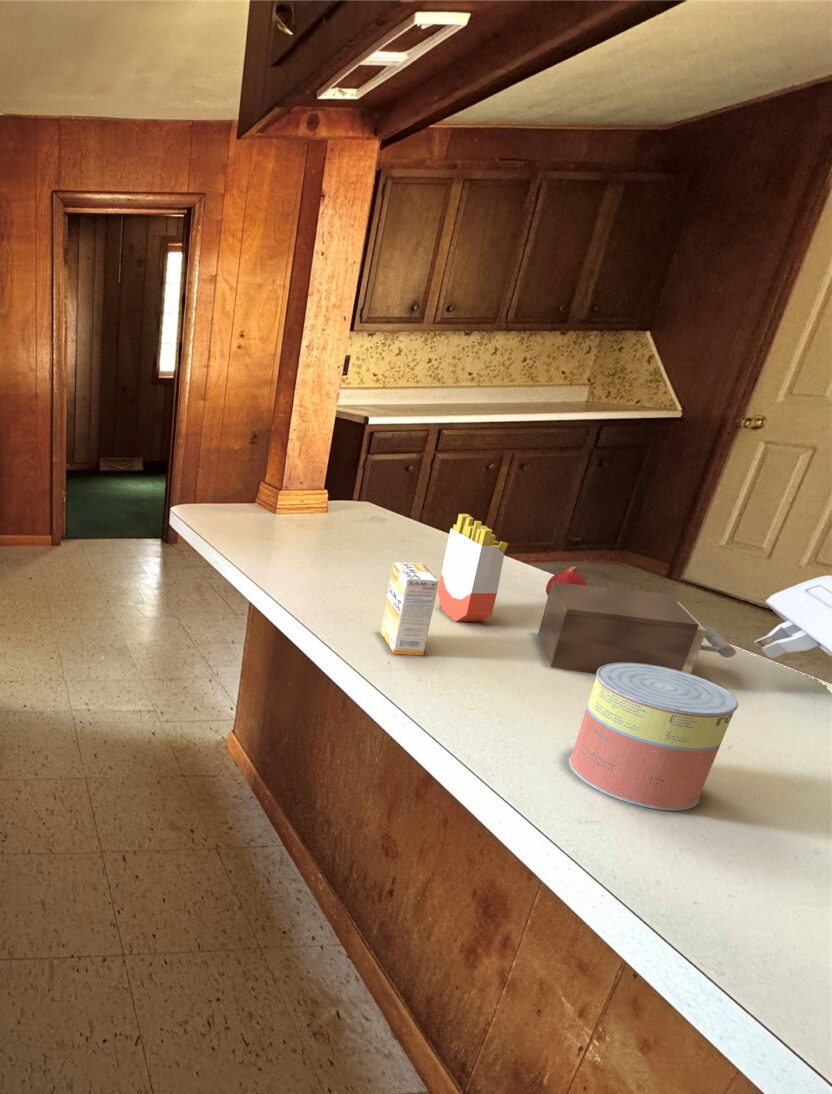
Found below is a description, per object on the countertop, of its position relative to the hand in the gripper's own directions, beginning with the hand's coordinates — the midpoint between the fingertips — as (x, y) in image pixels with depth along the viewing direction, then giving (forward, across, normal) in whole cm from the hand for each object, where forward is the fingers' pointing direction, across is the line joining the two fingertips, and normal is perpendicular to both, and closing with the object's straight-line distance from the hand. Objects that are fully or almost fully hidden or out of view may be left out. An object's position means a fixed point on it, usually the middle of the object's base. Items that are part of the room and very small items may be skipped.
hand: (761, 650), depth 93 cm
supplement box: (+35, +6, -28) cm, 45 cm away
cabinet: (+15, 0, -8) cm, 17 cm away
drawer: (+12, 0, -6) cm, 13 cm away
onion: (+16, -23, -9) cm, 30 cm away
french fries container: (+28, -12, -21) cm, 37 cm away
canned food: (+18, +35, -11) cm, 41 cm away
